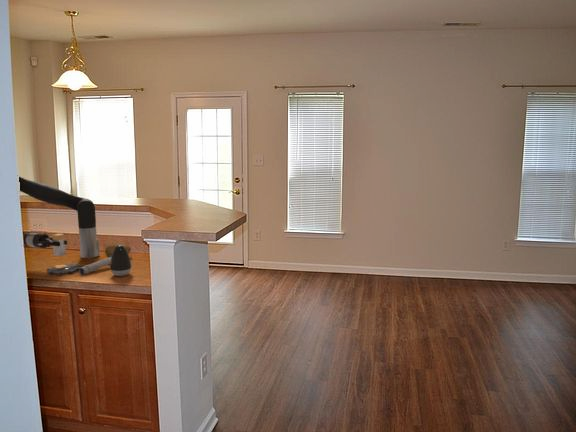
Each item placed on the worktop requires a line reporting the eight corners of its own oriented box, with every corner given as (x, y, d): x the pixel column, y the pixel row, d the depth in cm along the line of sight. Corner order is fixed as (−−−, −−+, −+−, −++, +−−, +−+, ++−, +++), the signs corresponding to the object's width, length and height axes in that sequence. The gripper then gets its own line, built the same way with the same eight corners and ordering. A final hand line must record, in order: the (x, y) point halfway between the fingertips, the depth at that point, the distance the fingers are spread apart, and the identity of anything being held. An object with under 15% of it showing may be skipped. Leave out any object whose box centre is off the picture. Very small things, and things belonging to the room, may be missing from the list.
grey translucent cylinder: (59, 253, 252) (58, 233, 250) (65, 254, 251) (64, 234, 249) (53, 255, 249) (52, 234, 247) (59, 256, 247) (58, 235, 245)
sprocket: (72, 264, 261) (72, 261, 260) (88, 270, 250) (88, 267, 250) (40, 271, 248) (40, 268, 248) (55, 277, 237) (55, 274, 237)
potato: (135, 257, 276) (134, 241, 274) (111, 263, 264) (110, 246, 262) (126, 255, 281) (125, 239, 279) (102, 260, 269) (101, 244, 267)
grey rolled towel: (77, 267, 243) (117, 250, 263) (80, 279, 245) (119, 261, 265) (83, 268, 240) (124, 251, 260) (86, 280, 242) (126, 263, 262)
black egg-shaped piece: (111, 278, 235) (109, 248, 233) (109, 273, 245) (108, 244, 242) (133, 276, 239) (131, 246, 237) (130, 271, 249) (129, 242, 246)
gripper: (25, 236, 246) (51, 239, 240) (48, 231, 259) (73, 233, 254) (27, 250, 247) (52, 253, 242) (49, 244, 261) (74, 247, 255)
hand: (63, 243), depth 248 cm, fingers closed on grey translucent cylinder, 4 cm apart
